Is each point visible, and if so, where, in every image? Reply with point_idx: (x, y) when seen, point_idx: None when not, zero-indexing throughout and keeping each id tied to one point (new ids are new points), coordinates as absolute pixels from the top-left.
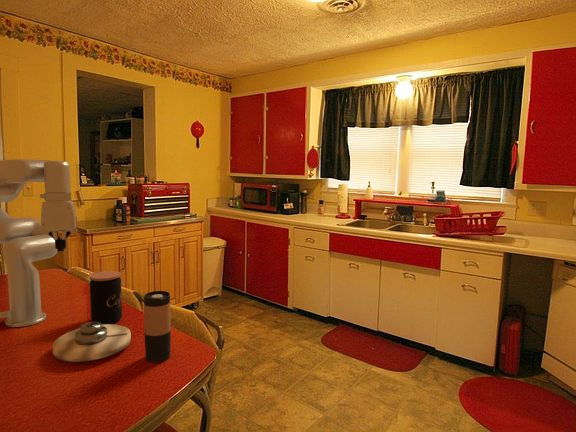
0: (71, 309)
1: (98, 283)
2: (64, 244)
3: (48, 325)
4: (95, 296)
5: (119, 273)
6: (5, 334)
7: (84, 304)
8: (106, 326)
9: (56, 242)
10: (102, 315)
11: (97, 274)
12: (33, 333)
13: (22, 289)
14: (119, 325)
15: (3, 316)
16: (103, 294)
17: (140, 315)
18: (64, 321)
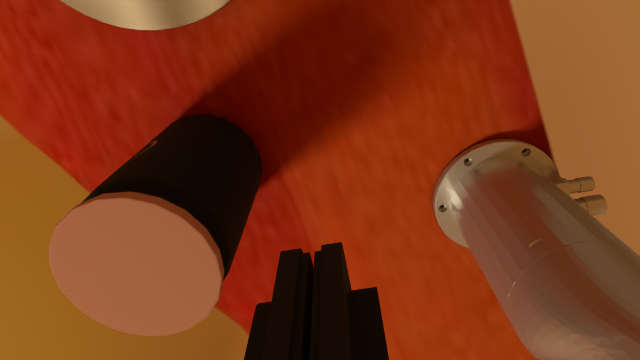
0: (373, 273)
1: (152, 191)
2: (257, 338)
3: (404, 143)
4: (194, 160)
5: (64, 286)
6: (528, 80)
7: None
8: (126, 4)
9: (365, 353)
10: (191, 123)
11: (183, 279)
12: (432, 76)
13: (556, 226)
14: (75, 8)
15: (575, 182)
16: (149, 158)
17: None
18: (360, 172)
